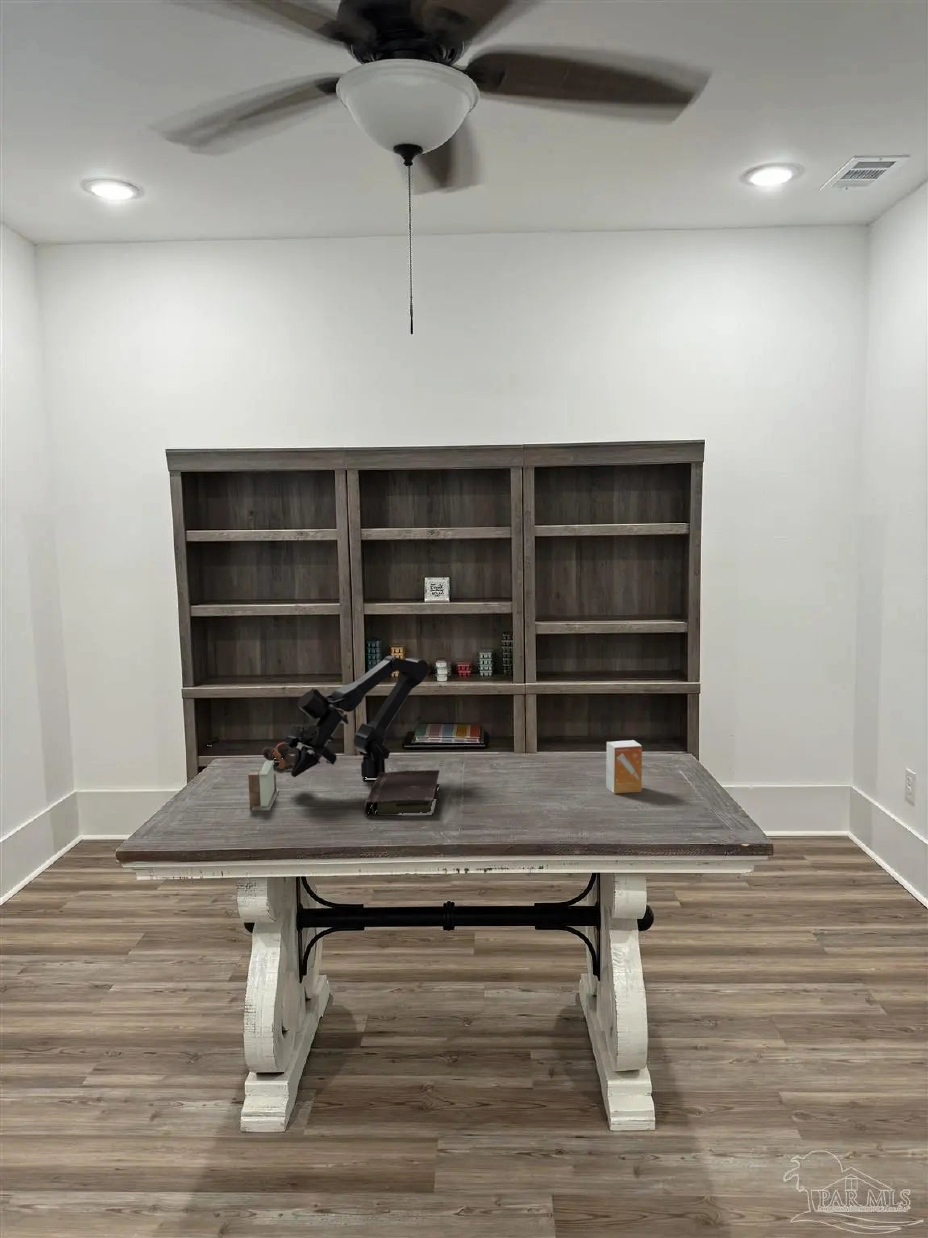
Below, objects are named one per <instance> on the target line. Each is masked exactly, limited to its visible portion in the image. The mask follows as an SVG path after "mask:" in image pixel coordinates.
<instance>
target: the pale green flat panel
mask: <svg viewBox="0 0 928 1238" xmlns="http://www.w3.org/2000/svg"><path fill="white" fill-rule="evenodd" d="M274 764H275V763H274V760H273V761H269V760H265V762H264V764H263V766H262V768H261V770H260V771H259V778H260V798H261V806H268V805H269V802H270V800H271V797H272V795H273V793H274V773H275V772H274V771H275V770H274Z"/></svg>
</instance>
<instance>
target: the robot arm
mask: <svg viewBox="0 0 928 1238" xmlns="http://www.w3.org/2000/svg"><path fill="white" fill-rule="evenodd" d="M396 671H397V672H398V675H397V681H396V682H395V685H394V686H393V688H392V689H391V691H390V692H389V694H388V696H387V697H386V699H385V700H384V702H383V703H382V705H381V706H380V708H379V709H378V711H377V713H376V714H375V715H374V717H373V719H372V720H371V721H370V722H369V723H368V724H367V723H364V722H362V723H361V724H360V726H359V727H358V730H357V731H356V732H355V733H354V739H353V745H354V748H355V749H356V750H357V751H358V753H359V756H362V760H361V763H360V769H361V770H360V771H361V778H362V781H363V780H365V779H366V778H365V777H367V778H377V777H378V774H379V773H381V772H386V760H387V759H389V758H390V753H391V751H390V750H389V749H388V748H387V747H386V746H384V744H385V741H386V736H387V735H386V733H387V730H388V728H389V727H390V724H391V723H392V721H393V720H394V719H395V717H396V715H397V713H398V711H399V710H400V709H401V708H402V705H403V704H404V702H405V701H406V699H407V697H408V696H409V695H410V692H411V691H413V689H414V688H416V687H418V686H419V685H420V684H422V683H423V682H424V680H425V679H426V678H427V677H428V675H429V673H430V665H429V663H428V662H427V661H426V660H424V659H419V658H415V657H406V658H405V659H402V658H399V657H397V656H393V655H387V656H385V657H384V658H383V660H381V661H380V662H378V663H377V664H376V665H375V666H374V667H373V668H371V669H370V670H368V671H367V672H366V673H364V674H363V675H362V676H361V677H359V678H357V680H355V681H353V682H351V683H349V684H344V685H342V686H341V687H339V688H337V689H335V690H333V692H332V693H331V694H328V695H323V694H322V693H321V692H320V690H318V689H317V688H314V687H312V688H311V689H310V691H307V692H306V693H304V694H303V695H301V696H300V697H299V699H298V702H297V707H298V708H299V709H300V711H302V712H303V713H304V714H305V715H307V716H308V717H310V718H311V719H312V720H316V722H315V723H314V724H306V725H305V726H301V725H298V724H294V723H292V724H291V726H290V730H289V732H288V735H287V736H286V737H285V738H284V740H283V742H284V743H285V744H286V745H287V746H288V747H290V748H291V750H292V751H293V752H295V754H296V757H295V762H294V764H292V765H293V766H292V769H291V772H290V776H291V777H292V778H296V777H298V776H299V775H301V774H303V773H304V772H305V771H307V770H309V769H312V767H315V766H316V765H319V764H321V761H320V760H321V758H323V759H325V761H326V764H328V765H330V766H335V764H336V762H337V761H338V755H337V754H336V753H335V752H334V751H332V750H331V749H330V748H329V747H327V744H328V742H332V741H333V740H334V737H333V735H334V733H335V731H336V730H337V729H338V727H339V725H340V724H344V725H348V724H349V719H348V714H346V713H351V712H352V711H353V712H354V710H356V709H357V708H358V706H359V705H360V704H361V703H362V702H363V700H364V698H365V696H366V695H367V694H368V693H369V692H371V690H373V689H374V688H375V687H377V686H378V685H379V684H380V683H382V682H383V681H384V680H385V679H387V678H388V677H390V676H391V675H392V674H393V673H395V672H396ZM331 707H332V708H333V709H332V708H331ZM339 710H340V711H343V712H346V713H341V712H340V711H339ZM295 754H294V755H295ZM363 777H364V778H363Z"/></svg>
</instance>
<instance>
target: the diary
mask: <svg viewBox="0 0 928 1238" xmlns="http://www.w3.org/2000/svg"><path fill="white" fill-rule="evenodd" d="M439 775H440V770H437V769H435V770H434V769H432V770H429V769H428V770H427V769H426V770H425V769H424V770H418V769H417V770H403V771H402V770H400V771H399V770H398V771H389V772H386V771H385V772H381V773H379V774H378V777H377V779H376V780H374V783H373V785H372V787H371V789H370V792H369V794H368V796H367V798H366V800H365V801H364V805H363V812H364V816H365V815H368V816H369V814H368V812H369V810H370V811H371V812H372V815H373V814H375V811H376V810H377V812H376V813H377V815H378V814H399V813H402V814H403V813H420V812H422V813H427V812H430V811H431V806H432V802H433V801H434V799H437V801H438V800H440V797H439V791H437V788H438V787H439V785H440V786H441V784H440V783H438V779H439ZM371 805H372V807H371ZM370 807H371V809H370ZM369 813H370V812H369ZM432 814H433V813H432ZM375 815H376V814H375ZM433 815H434V814H433Z"/></svg>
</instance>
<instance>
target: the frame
mask: <svg viewBox="0 0 928 1238" xmlns="http://www.w3.org/2000/svg"><path fill="white" fill-rule="evenodd" d="M259 774H260V771H249V773H248V775H247V776H248V794H249V795H248V796H249V799H248V800H249V809H251V812H258V811H259V812H260V811H270V810H271V808H272V807H273V804H274V802H275V800H276V798H277V797H278V794H279V792H280V789H279V788H277V774H276V773H275V772H274V793H273V795H272V797H271V800H270V802H269V805H268V806H261V798H260V777H259Z"/></svg>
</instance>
